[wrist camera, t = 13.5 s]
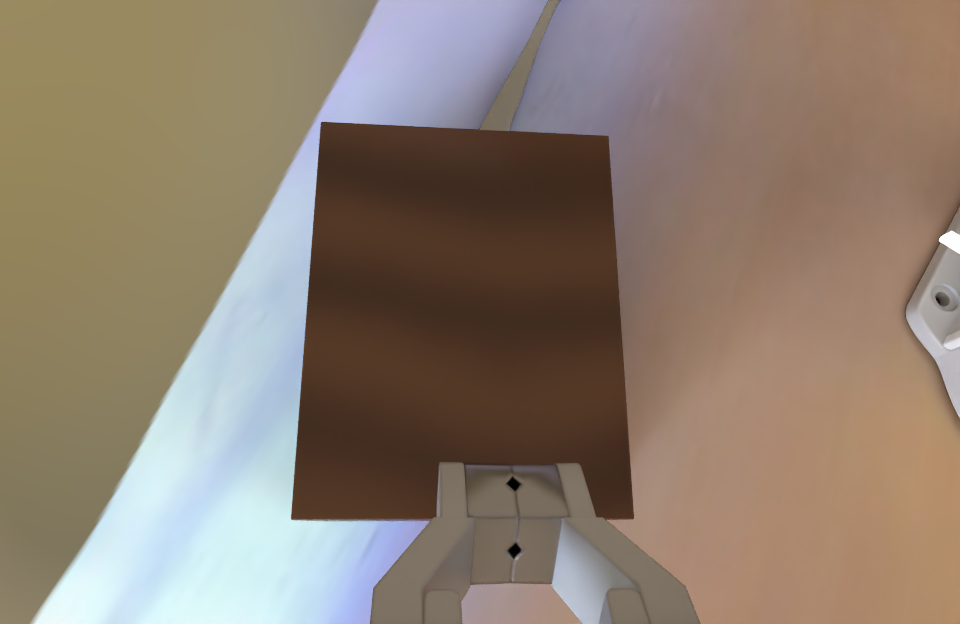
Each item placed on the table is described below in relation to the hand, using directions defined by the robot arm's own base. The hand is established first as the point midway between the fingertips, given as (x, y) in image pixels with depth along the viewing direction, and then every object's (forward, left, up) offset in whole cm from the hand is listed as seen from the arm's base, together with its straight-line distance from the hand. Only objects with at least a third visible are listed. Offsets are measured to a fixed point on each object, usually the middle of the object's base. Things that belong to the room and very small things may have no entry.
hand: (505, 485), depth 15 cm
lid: (-7, -3, -13) cm, 15 cm away
